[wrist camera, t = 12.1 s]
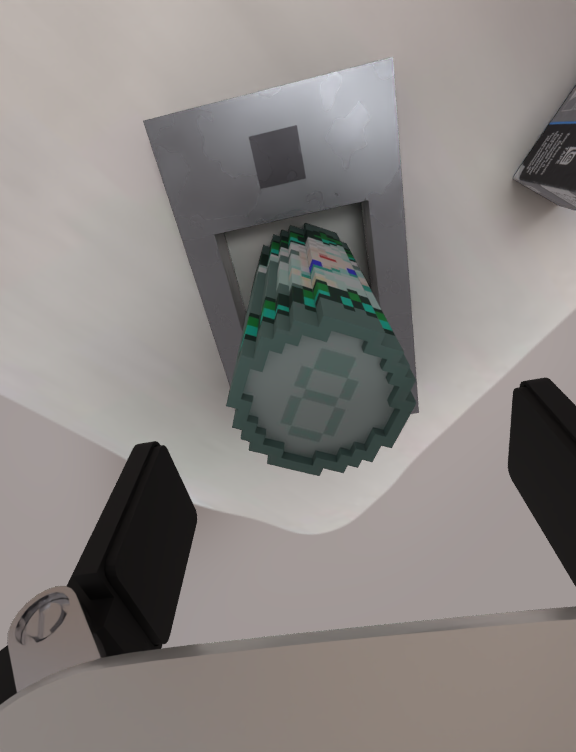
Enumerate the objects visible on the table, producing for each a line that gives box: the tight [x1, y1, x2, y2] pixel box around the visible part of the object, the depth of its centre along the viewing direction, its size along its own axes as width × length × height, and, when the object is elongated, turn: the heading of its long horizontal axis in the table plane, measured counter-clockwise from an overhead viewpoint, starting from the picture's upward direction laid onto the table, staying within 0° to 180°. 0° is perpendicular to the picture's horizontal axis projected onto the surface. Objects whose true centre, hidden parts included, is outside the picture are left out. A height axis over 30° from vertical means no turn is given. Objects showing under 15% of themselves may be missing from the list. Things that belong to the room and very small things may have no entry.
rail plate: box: [143, 57, 419, 442], centre depth 26 cm, size 12×20×3 cm, turn 12°
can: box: [226, 223, 416, 476], centre depth 21 cm, size 6×6×15 cm
